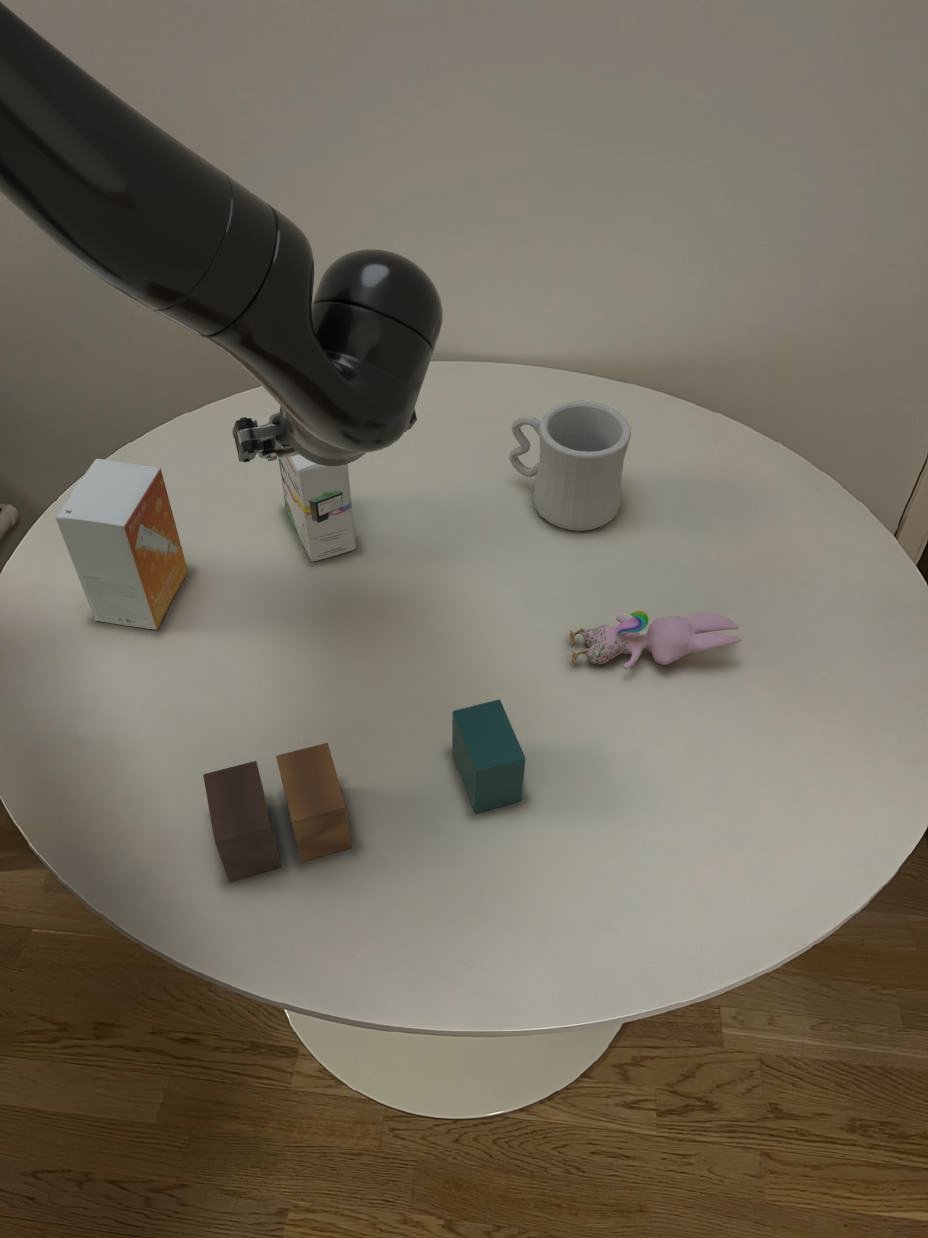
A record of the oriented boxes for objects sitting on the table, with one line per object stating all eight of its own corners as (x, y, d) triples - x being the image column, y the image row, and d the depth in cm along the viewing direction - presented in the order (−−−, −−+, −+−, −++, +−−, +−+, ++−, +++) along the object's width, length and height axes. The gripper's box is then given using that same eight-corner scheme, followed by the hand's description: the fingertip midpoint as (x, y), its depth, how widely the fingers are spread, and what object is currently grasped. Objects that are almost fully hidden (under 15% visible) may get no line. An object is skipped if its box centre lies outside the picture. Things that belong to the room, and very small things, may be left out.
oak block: (300, 862, 77) (291, 821, 72) (285, 798, 81) (275, 755, 76) (351, 848, 78) (345, 807, 73) (334, 785, 81) (327, 742, 77)
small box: (158, 632, 92) (124, 527, 83) (93, 622, 93) (51, 517, 83) (190, 570, 98) (162, 465, 88) (129, 561, 98) (93, 456, 89)
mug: (632, 492, 106) (646, 415, 98) (599, 545, 100) (611, 467, 93) (526, 457, 110) (531, 380, 102) (489, 506, 104) (491, 428, 97)
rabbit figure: (575, 690, 90) (745, 672, 88) (570, 647, 85) (749, 628, 84) (569, 637, 94) (732, 619, 92) (564, 594, 90) (735, 574, 88)
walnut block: (228, 882, 76) (214, 842, 71) (216, 816, 79) (202, 773, 75) (281, 867, 76) (270, 827, 72) (266, 802, 80) (256, 760, 76)
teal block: (474, 814, 80) (476, 772, 75) (451, 754, 84) (452, 710, 79) (521, 801, 81) (526, 758, 76) (497, 742, 84) (500, 698, 80)
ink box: (284, 510, 104) (269, 416, 95) (330, 497, 105) (319, 404, 96) (310, 563, 98) (297, 470, 90) (358, 549, 100) (349, 456, 91)
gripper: (421, 336, 72) (388, 381, 88) (223, 370, 69) (225, 411, 85) (443, 439, 73) (406, 466, 89) (247, 477, 70) (245, 498, 86)
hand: (318, 439), depth 87 cm, fingers open, 8 cm apart
